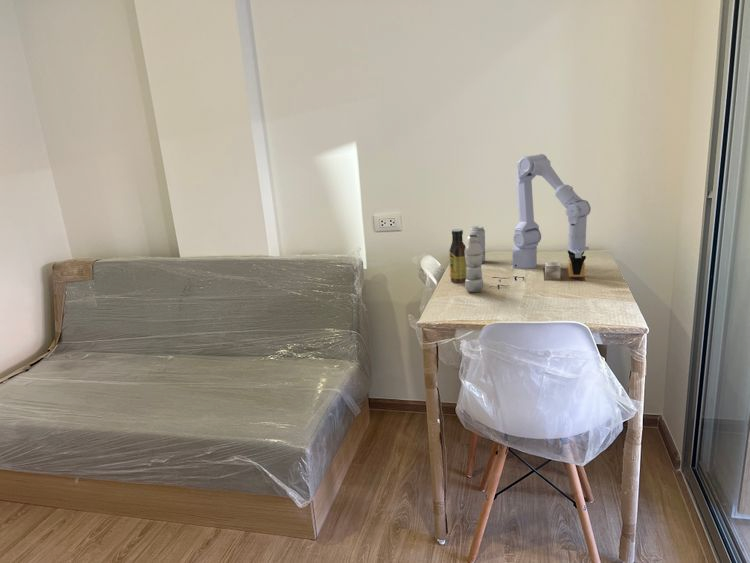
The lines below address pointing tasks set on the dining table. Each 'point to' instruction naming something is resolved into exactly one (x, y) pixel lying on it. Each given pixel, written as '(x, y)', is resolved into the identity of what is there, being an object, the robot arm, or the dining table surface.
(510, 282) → the dining table surface
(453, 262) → the sauce bottle
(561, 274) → the board
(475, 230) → the energy drink can
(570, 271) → the kraft paper cube
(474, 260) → the plastic bottle
